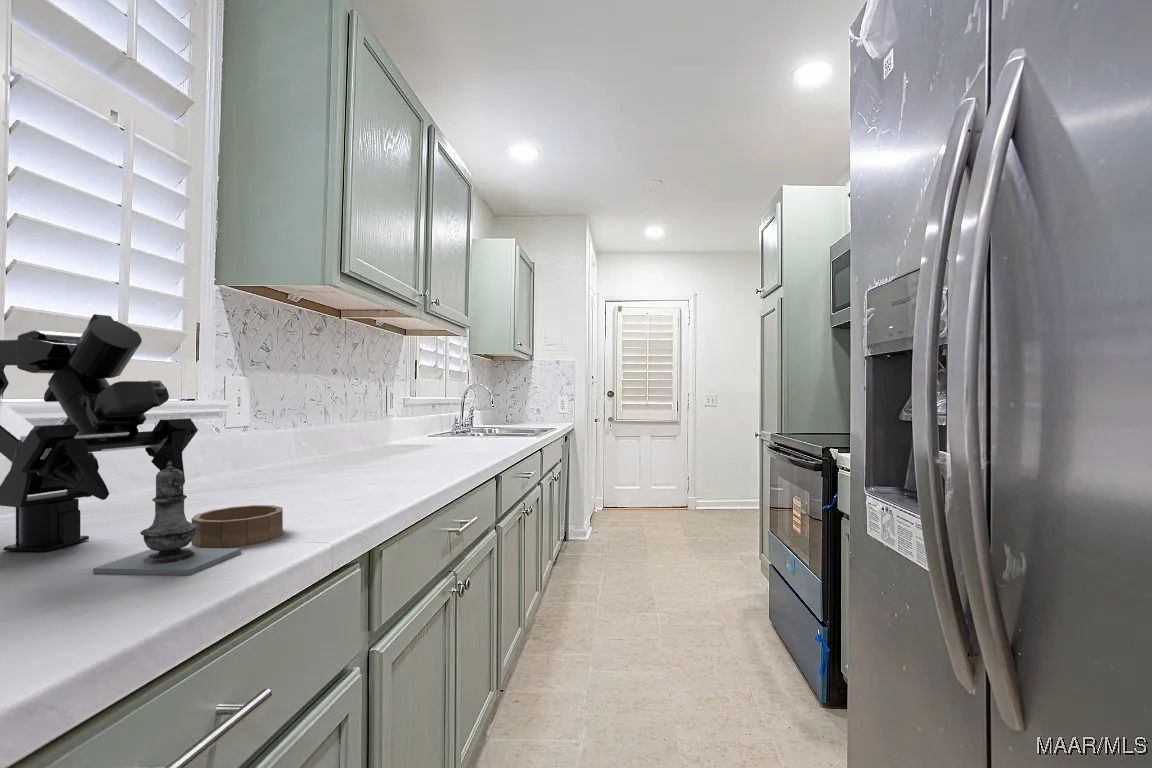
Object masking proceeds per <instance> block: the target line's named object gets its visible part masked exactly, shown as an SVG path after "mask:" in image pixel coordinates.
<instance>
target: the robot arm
mask: <svg viewBox="0 0 1152 768" xmlns="http://www.w3.org/2000/svg"><path fill="white" fill-rule="evenodd" d="M141 344H142V337H141V335H140V333H139V332H138V331H135V330H133V329H132V328H131V327H129V326H127V325H125V324H123V323H122V322H119V321H117V320H114V318H113V317H112V316H111V315H105V314H97V313H95V314H93V315H92V316H91V318H90V320H89V321H88V325H87V326H86V328H85V330H84V331H83V332H82V333H74V332H73V333H71V332H60V331H49V330H48V331H46V330H35V329H34V330H30V331H27V332H24V333H21V334H19V335H17V339H0V398H1V397H2V396H3V394H4V392H5V391H6V390H7V388H8V386H9V385H10V384H9V380H8V379H7V376H6V373H5V371H4V370H5V368H6V366H16V367H17V369H18V370H21V371H25V372H27V373H32V374H52V375H51V377H50V379H49V380H48V382H47V385H48V387H47V389H46V391H45V392H44V394H43V401H44V402H45V403H54V402H55V403H57V402H58V403H59V405H60V406H61V408H62V411H64V413H65V414H66V417H67V418H66V420H65V421H64V423H63V424H47V425H46V424H44V425H35V426H34V425H33V424H32V423H31V422H29V421H28V420H27V419H25V418H24V417H22V416H21V415H20V414H19V413H18V412H17V411H15V410H14V409H12V408H11V407H10V406H9V405H8V404H6V403H4V401H2V400H1V399H0V454H1V455H3V456H4V457H5V458H6V459H8V460H9V461H10V463H11V465H10V466H11V467H10V469H9V471H8V473H7V474H6V476H5V477H4V479H3V481H2V482H1V484H0V507H1V506H2V507H7V508H8V507H10V508H15V543H14V544H10V545H6V546H3V551H9V552H10V551H11V552H18V551H19V552H47V551H50V550H55V549H58V548H63V547H67V546H70V545H72V544H75V543H80V542H83V541H84V542H85V541H87V540H89V539H90V535H81V510H80V509H79V506H80V505H79V504H80V502H79V499H80V498H90V497H92V496H93V497H94V498H97V499H99V500H101V501H105V500H107V498H108V497H109V496H110V491H109V490H108V486H107V485H106V483H105V481H104V479H103V478H102V476H101V474H100V473H99V469H100V468H99V467H100V465H99V462H98V459H97V457H96V456H95V454H94V453H95V452H112V451H113V452H114V451H124V450H132V449H133V450H135V449H143V448H144V449H145V451H146V453H147V455H148V456H150V457H152V459H151V461H150V462H151V464H152V465H154V466H155V467H156V468H157V469H158V470H159V471H161V470H164V469H165V468H167V466H168V465H166V464H168V462H169V461H171V462H172V467H174V468H175V469H179V470H181V471H182V472H183V486H185V485H184V484H185V483H186V479H185V478H186V477H185V468H184V461H183V460H184V459H183V452H184V451H185V449H186V448H187V446H188V445H189V444H190V442H191V441H192V439H193V438H194V437H195V435H196V434H197V433H198V431H199V429H198V427H197V426H196V425H195V424H194V422H193V420H192V419H191V418H167V419H166V418H165V419H163V418H161V419H159V421H158V422H157V423H156V425H155V427H154V428H153V429H152V430H149V431H148V430H146V431H139V428H138V427H139V425H143V424H144V423H145V422H146V420H147V417H146V415H145V414H146V413H147V412H148V411H150V410H152V409H153V408H157V407H160V406H162V405H164V403H166V402H167V401H169V399H170V398H169V397H170V394H169V392H168V388H167V387H166V386H165V384H164V383H163V382H162V381H161V380H147V381H145V380H144V381H141V380H138V381H136V380H135V381H134V380H125V381H123V380H122V381H118V382H113V383H112V384H110V383H109V382H108V380H107V379H112V378H116V377H119V376H121V375H122V373H123V371H124V370H125V368H126V367H127V365H128V364H129V363H130V361H131V359H132V357H133V356H134V354H135V353H136V352H137V350H138V348H139V347H140V345H141Z"/></svg>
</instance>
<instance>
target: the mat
mask: <svg viewBox="0 0 1152 768" xmlns="http://www.w3.org/2000/svg"><path fill="white" fill-rule="evenodd" d="M180 549H189V550H191V551H194V552H195V553H196V554H195V556H193V557H191V558H188V559H185V560H181V561H177V562H171V563H163V564H147V563H144V561H143V560H144V559H145V558H147V557H148V556H149V555H151V554H153V553H157V552H159V551H154V550H151V549H150V548H149V549H146V550H143V551H140V552H138V553H134V554H132V555H128V556H125V557H122V558H119V559H116V560H114V561H110V562H108V563H105V564H101V565H99V566H95V567H93V568H92V574H107V575H108V574H109V575H111V574H112V575H115V574H116V575H158V576H159V575H161V576H163V575H164V576H165V575H166V576H190V575H192V574H195V573H197V572H199V571H202V570H204V569H207V568H209V567H211V566H214V565H216V564H219V563H221V562H223V561H227V560H228V559H231V558H233V557H235V556H237V555H240V554H242V548H233V547H223V548H210V547H182V548H180Z"/></svg>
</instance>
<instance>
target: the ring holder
mask: <svg viewBox="0 0 1152 768" xmlns="http://www.w3.org/2000/svg"><path fill="white" fill-rule="evenodd" d="M283 512H284V509H283V507H282V506H277V505H267V504H264V505H263V504H256V505H255V504H253V505H239V506H230V507H223V508H218V509H212V510H208V511H204V512H200V513H197V514H195V515H194V516H192V518H191V523H194V524H197V525H198V527H197V529H195V535H194V538H193V540H192V541H191V545H193V546H196V547H197V548H233V547H240V546H241V547H242V546H249V545H253V544H257V543H263V542H267V541H271V540H273V539H275V538H278V537H280V536H282V535H283V531H284V526H283V524H284V523H283V522H284V520H283V517H284V516H283V514H284V513H283Z"/></svg>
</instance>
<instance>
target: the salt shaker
mask: <svg viewBox="0 0 1152 768" xmlns="http://www.w3.org/2000/svg"><path fill="white" fill-rule="evenodd" d="M166 465H168V466H167V468H165V469H164V470H161V471H160V470H159V471H158V472H157V473H156V476H155V497H154V498H152V499H151V501H152V502H154V507H155V508H154V518H153V521H152V524H151V525H150V526H149V527H147V528H145V529H142V530H141V531H140V532H139V533H140V535H141V536H143V541H144V544H145V545H146V547H147V548H149V549H151V550H154V551H159V552H157V553H153V554H151V555H149V556H148V557H147V558H145V559H144V560H143V561H144V563H147V564H163V563H171V562H177V561H181V560H185V559H188V558H191V557H193V556H195V554H196V553H195V552H194V551H191V550H189V549H180V548H186V546H188V545H189V544H190V543H192V540H193V538H194V535H195V529H197V527H198V525H197V524H194V523H192V522H189V521H188V520H187V517H186V514H185V499H187V498H188V495H186V494H184V485H183V472H182V471H181V470H179V469H175V468H174V467H172V462H171V461H169V462H168V464H166Z"/></svg>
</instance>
